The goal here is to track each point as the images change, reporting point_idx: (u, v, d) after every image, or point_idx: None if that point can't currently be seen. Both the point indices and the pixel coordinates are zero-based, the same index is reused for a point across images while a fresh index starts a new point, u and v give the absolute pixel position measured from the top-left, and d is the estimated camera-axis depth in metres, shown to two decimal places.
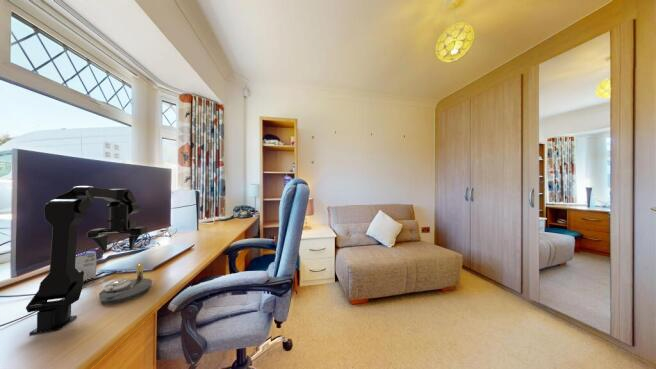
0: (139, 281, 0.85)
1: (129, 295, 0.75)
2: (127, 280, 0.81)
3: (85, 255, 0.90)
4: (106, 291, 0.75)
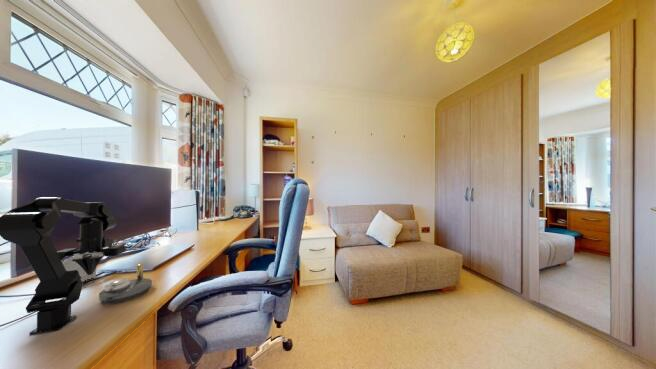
0: (139, 281, 0.85)
1: (129, 295, 0.75)
2: (127, 280, 0.81)
3: None
4: (106, 291, 0.75)
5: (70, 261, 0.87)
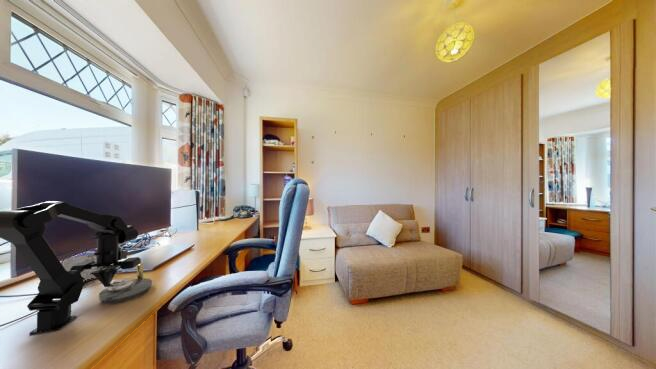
0: (139, 281, 0.85)
1: (129, 295, 0.75)
2: (130, 280, 0.81)
3: (85, 255, 0.90)
4: (109, 291, 0.76)
5: (70, 261, 0.87)
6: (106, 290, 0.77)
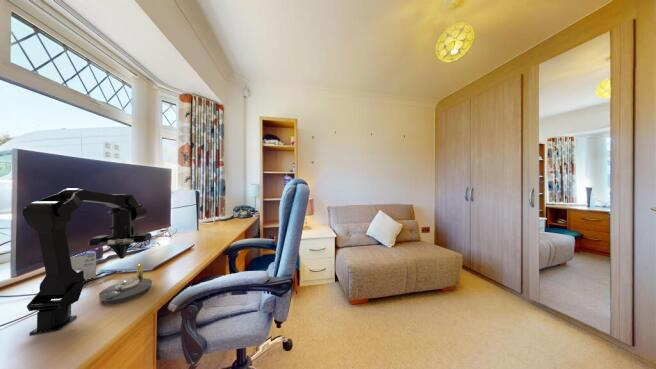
0: (139, 281, 0.85)
1: (129, 295, 0.75)
2: (136, 279, 0.82)
3: (85, 255, 0.90)
4: (116, 290, 0.76)
5: None
6: (106, 290, 0.77)
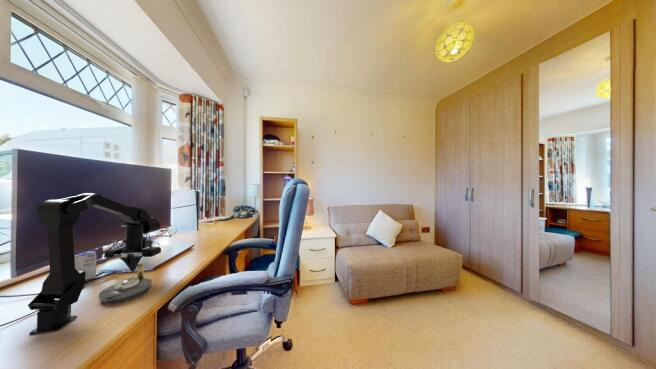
0: (139, 281, 0.85)
1: (128, 295, 0.75)
2: (136, 279, 0.82)
3: (85, 255, 0.90)
4: (116, 290, 0.76)
5: None
6: (106, 290, 0.77)
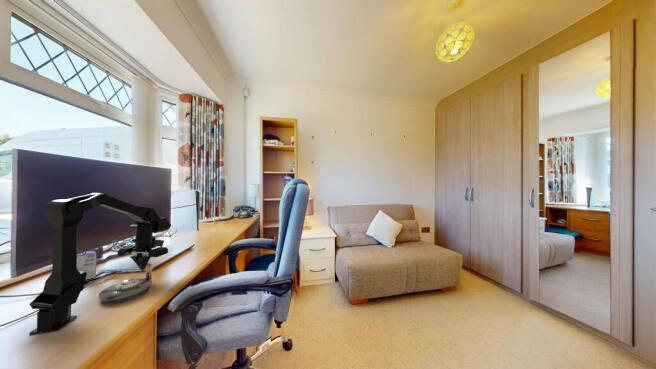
0: (143, 281, 0.84)
1: (117, 298, 0.73)
2: (137, 280, 0.81)
3: (85, 255, 0.90)
4: None
5: None
6: (112, 287, 0.80)
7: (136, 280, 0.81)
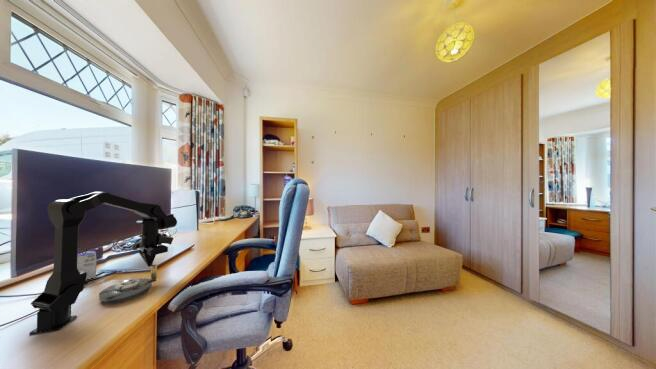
0: (144, 283, 0.83)
1: (107, 299, 0.72)
2: (135, 281, 0.80)
3: (85, 255, 0.90)
4: None
5: None
6: None
7: (135, 281, 0.80)
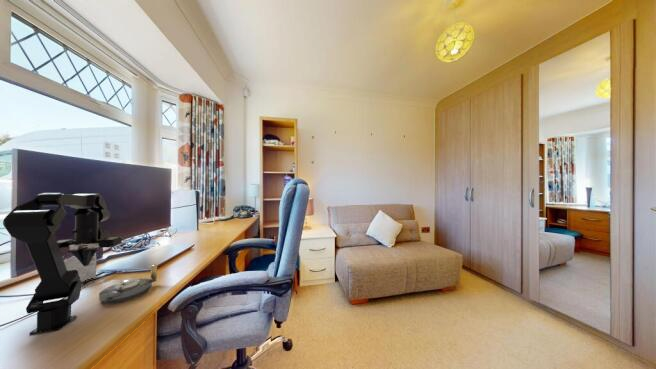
0: (144, 283, 0.83)
1: (107, 299, 0.72)
2: (135, 281, 0.80)
3: None
4: None
5: (70, 261, 0.87)
6: None
7: (135, 281, 0.80)
